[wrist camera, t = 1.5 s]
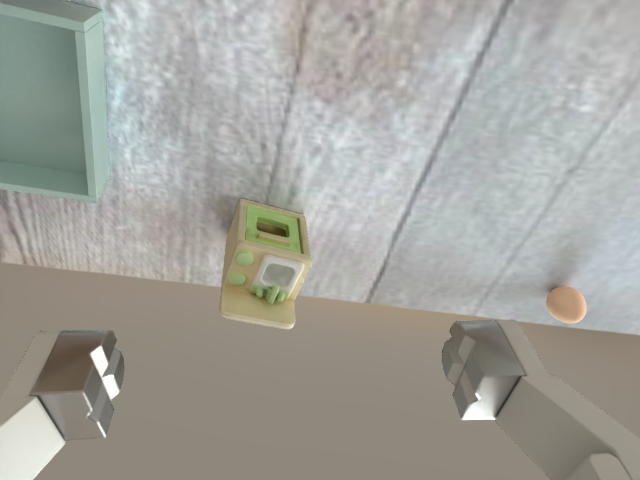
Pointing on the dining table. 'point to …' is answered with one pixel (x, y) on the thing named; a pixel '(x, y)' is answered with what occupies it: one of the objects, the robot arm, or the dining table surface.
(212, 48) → the dining table surface
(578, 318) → the egg
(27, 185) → the green tray
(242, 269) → the toy sink
